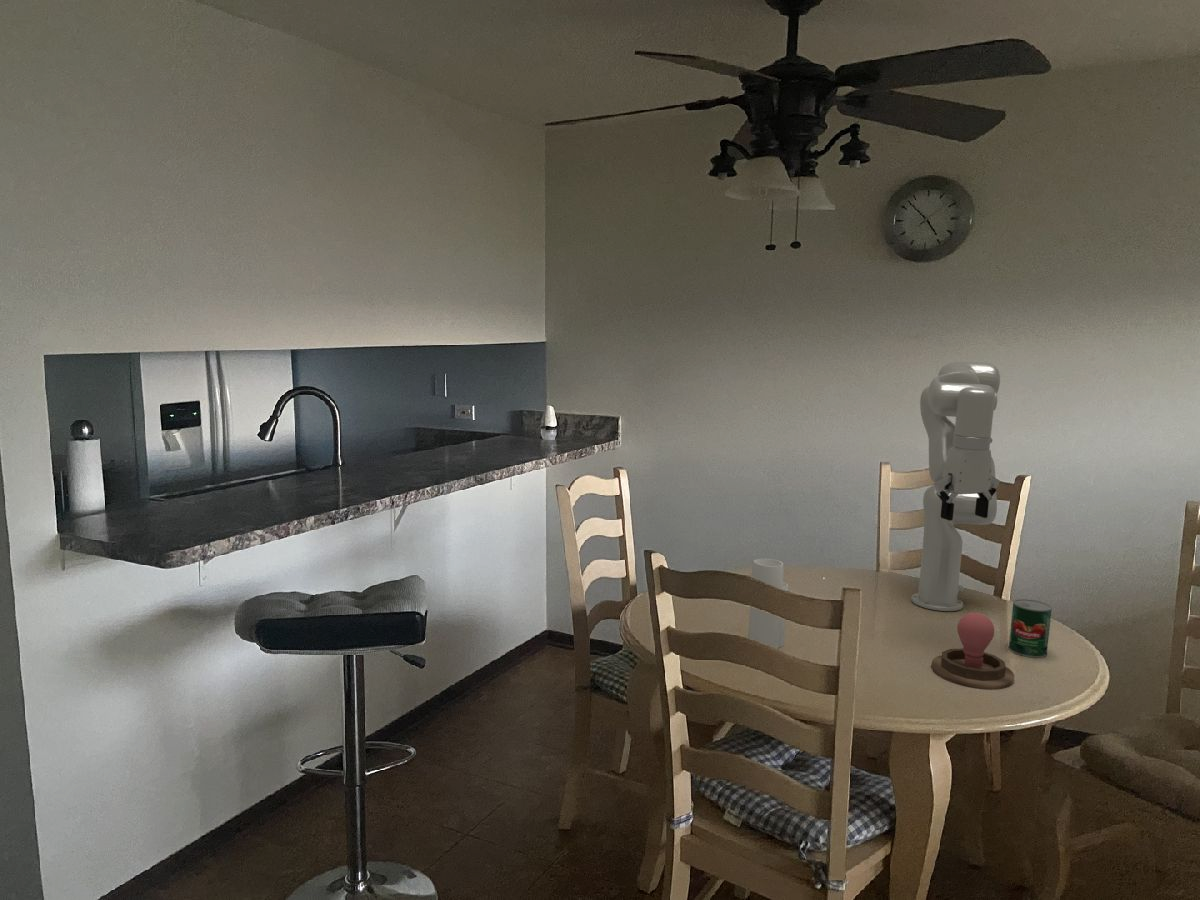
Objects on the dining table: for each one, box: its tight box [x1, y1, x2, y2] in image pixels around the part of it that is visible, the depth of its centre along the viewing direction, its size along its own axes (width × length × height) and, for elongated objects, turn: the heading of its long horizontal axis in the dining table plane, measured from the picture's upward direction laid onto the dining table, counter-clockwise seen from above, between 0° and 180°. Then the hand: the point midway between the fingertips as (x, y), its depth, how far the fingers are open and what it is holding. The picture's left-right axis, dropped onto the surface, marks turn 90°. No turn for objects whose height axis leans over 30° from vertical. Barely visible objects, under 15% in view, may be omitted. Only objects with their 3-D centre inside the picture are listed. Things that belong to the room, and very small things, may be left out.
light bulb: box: [956, 612, 995, 668], centre depth 183 cm, size 7×7×12 cm
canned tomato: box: [1008, 598, 1053, 659], centre depth 196 cm, size 8×8×11 cm
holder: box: [930, 648, 1015, 690], centre depth 183 cm, size 16×16×3 cm
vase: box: [747, 558, 789, 650], centre depth 193 cm, size 11×7×20 cm, turn 155°
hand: (963, 517), depth 198 cm, fingers open, 9 cm apart
